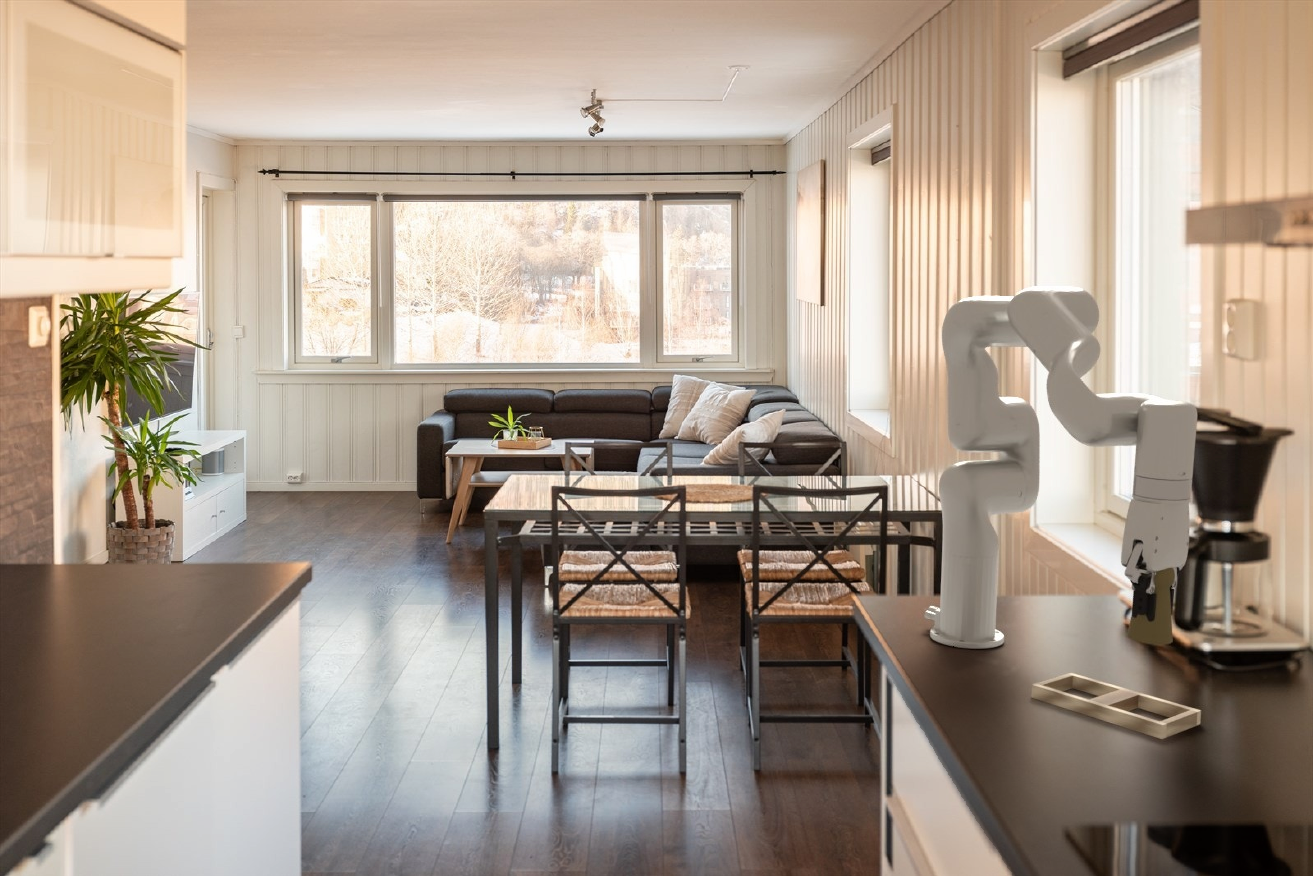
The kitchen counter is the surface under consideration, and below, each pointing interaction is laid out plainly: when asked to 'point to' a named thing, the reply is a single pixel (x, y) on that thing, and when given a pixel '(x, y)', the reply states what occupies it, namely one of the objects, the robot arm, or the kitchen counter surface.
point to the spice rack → (1117, 705)
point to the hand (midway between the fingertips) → (1152, 615)
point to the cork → (1162, 624)
